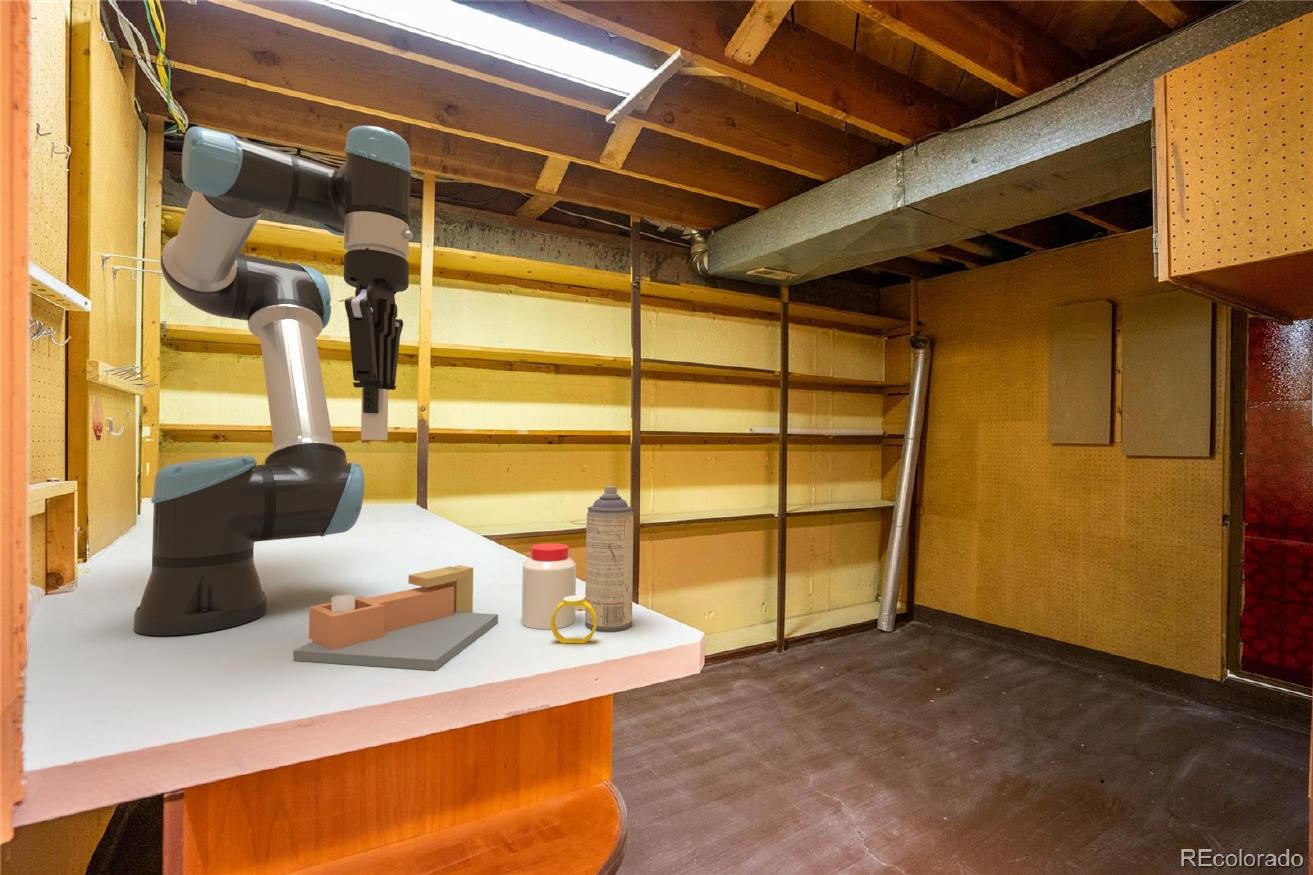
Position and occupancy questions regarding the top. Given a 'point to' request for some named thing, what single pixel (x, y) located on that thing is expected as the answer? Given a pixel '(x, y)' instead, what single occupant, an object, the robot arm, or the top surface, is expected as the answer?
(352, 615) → the link
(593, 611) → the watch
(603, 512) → the aerosol can
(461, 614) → the board
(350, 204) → the robot arm
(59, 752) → the top surface
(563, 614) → the pill bottle
